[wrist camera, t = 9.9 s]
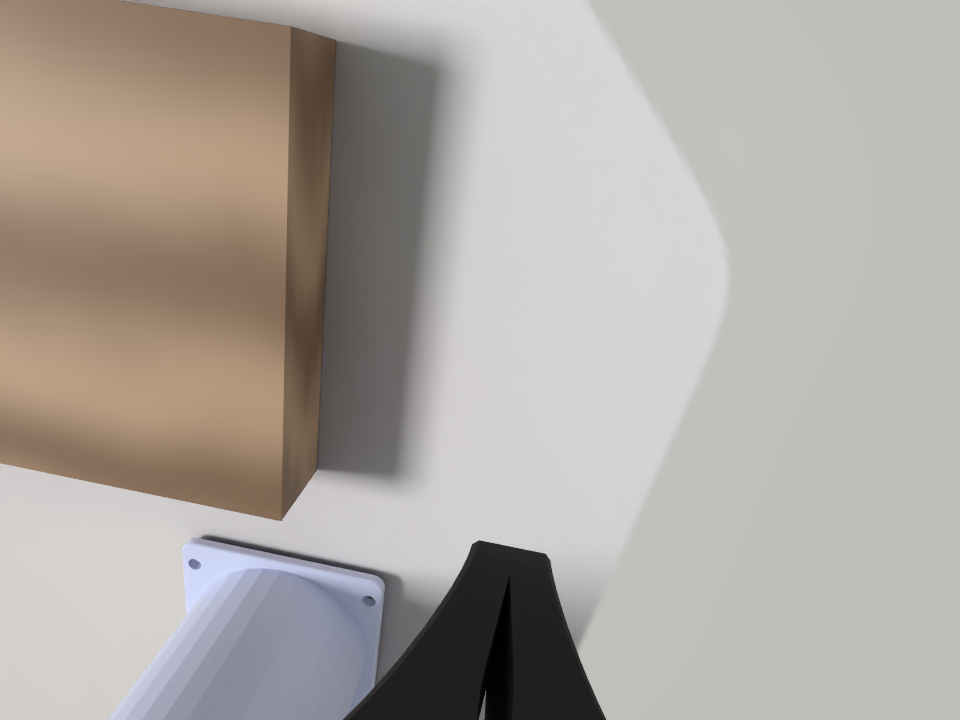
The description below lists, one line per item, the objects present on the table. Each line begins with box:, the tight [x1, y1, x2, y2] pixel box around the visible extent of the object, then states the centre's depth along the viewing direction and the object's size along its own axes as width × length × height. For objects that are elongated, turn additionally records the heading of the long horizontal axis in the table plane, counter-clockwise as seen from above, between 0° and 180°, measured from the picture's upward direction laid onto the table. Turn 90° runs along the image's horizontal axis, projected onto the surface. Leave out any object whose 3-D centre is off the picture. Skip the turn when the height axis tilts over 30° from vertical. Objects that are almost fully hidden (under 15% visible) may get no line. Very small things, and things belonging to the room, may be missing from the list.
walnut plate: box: [0, 0, 336, 521], centre depth 19 cm, size 14×12×3 cm
